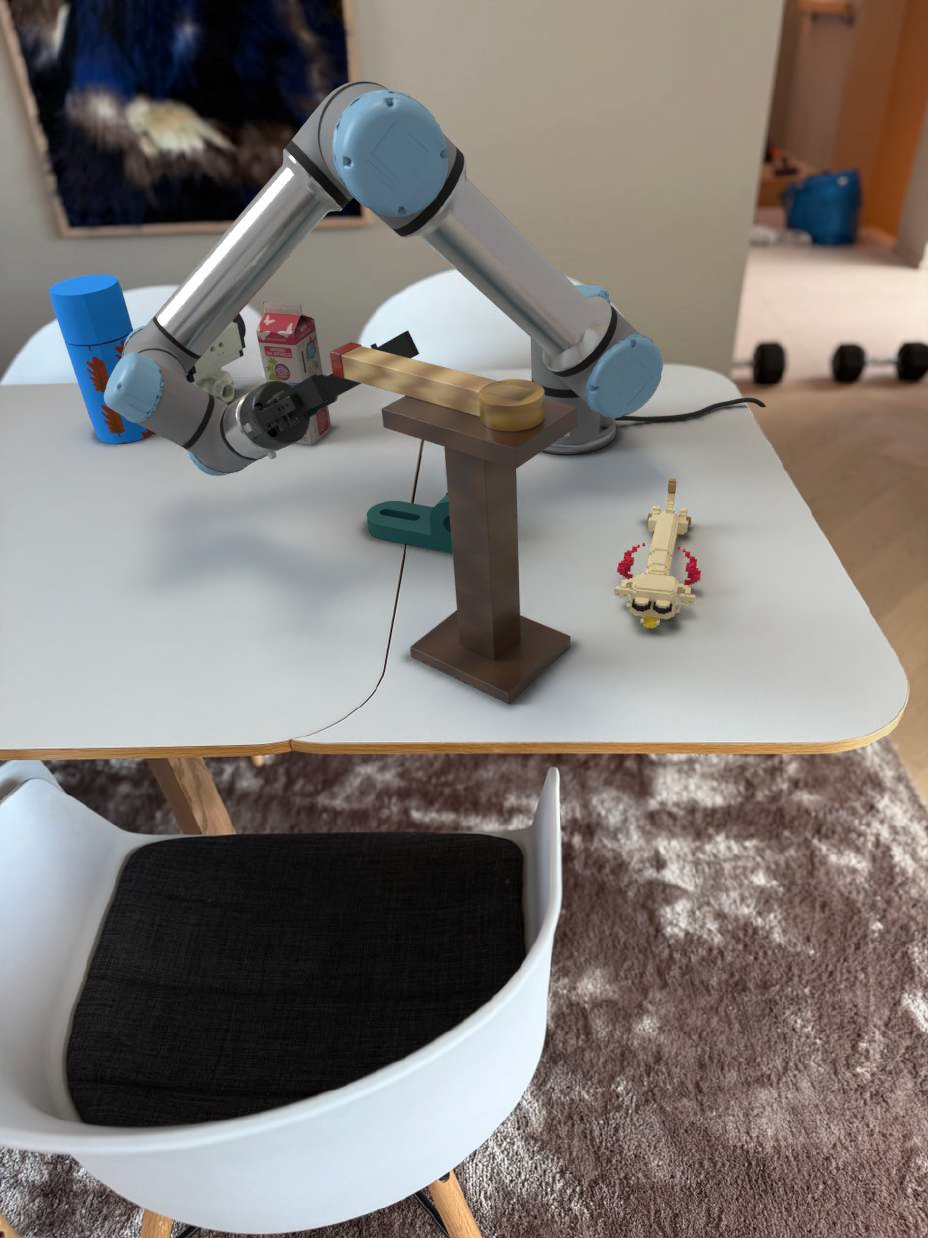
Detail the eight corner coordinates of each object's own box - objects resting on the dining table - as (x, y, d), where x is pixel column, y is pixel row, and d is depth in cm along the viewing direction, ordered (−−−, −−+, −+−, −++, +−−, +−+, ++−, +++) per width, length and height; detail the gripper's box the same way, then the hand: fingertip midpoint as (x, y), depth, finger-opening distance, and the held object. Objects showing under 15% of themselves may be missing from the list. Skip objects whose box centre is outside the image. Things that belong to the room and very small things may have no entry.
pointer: (323, 380, 94) (319, 356, 93) (363, 361, 98) (359, 337, 96) (519, 437, 81) (518, 410, 80) (557, 412, 85) (557, 386, 83)
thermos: (172, 423, 160) (133, 278, 145) (125, 449, 153) (78, 299, 138) (130, 412, 165) (88, 270, 150) (83, 436, 158) (33, 290, 143)
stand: (404, 653, 105) (373, 412, 87) (468, 602, 113) (452, 369, 95) (516, 708, 97) (508, 453, 79) (578, 649, 104) (583, 403, 86)
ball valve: (196, 424, 159) (170, 324, 148) (161, 416, 163) (134, 317, 152) (264, 386, 171) (244, 290, 160) (230, 379, 175) (209, 285, 164)
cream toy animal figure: (631, 529, 126) (605, 625, 106) (635, 470, 121) (609, 559, 101) (705, 536, 124) (693, 636, 104) (712, 476, 119) (701, 569, 99)
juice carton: (297, 423, 157) (273, 294, 144) (331, 427, 155) (310, 297, 142) (277, 440, 152) (251, 308, 139) (312, 445, 150) (289, 311, 137)
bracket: (497, 532, 125) (495, 482, 120) (477, 558, 120) (474, 506, 116) (382, 511, 132) (376, 462, 127) (359, 534, 127) (352, 484, 122)
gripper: (355, 410, 118) (460, 358, 102) (201, 491, 103) (296, 445, 87) (327, 356, 116) (430, 294, 100) (166, 430, 101) (256, 371, 85)
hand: (368, 364), depth 93 cm, fingers open, 13 cm apart
